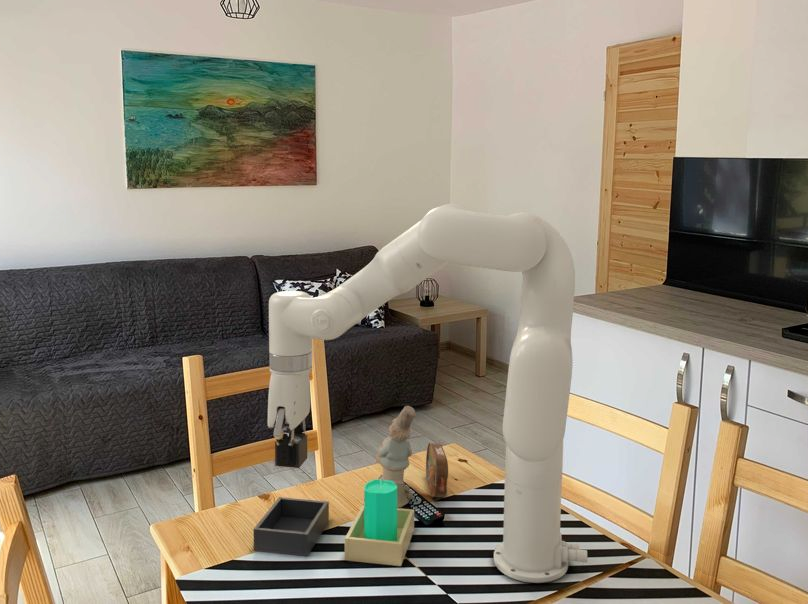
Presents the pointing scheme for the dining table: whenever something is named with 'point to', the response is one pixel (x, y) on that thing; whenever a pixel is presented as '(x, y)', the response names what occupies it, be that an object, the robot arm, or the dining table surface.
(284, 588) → the dining table surface
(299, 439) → the block
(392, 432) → the figurine
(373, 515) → the candle
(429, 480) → the tin
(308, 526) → the charcoal bin
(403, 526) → the cream bin
